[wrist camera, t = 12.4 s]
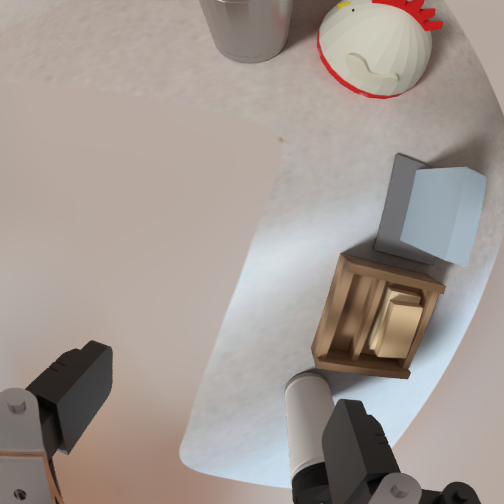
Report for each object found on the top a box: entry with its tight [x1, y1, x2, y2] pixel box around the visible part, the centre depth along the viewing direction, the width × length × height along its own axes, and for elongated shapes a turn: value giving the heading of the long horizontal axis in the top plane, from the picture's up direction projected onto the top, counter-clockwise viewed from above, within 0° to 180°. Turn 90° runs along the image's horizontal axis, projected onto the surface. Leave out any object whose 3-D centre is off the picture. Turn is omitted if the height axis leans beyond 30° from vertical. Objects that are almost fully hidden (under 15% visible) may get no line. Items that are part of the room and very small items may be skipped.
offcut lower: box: [367, 287, 421, 350], centre depth 37 cm, size 8×4×2 cm, turn 167°
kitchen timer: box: [317, 0, 443, 99], centre depth 24 cm, size 14×14×15 cm
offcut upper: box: [374, 300, 423, 358], centre depth 35 cm, size 7×4×2 cm, turn 171°
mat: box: [373, 154, 436, 265], centre depth 35 cm, size 12×9×1 cm
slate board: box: [400, 167, 487, 267], centre depth 30 cm, size 9×3×11 cm, turn 167°
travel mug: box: [285, 372, 335, 504], centre depth 31 cm, size 6×7×20 cm
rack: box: [311, 253, 446, 379], centre depth 36 cm, size 13×13×5 cm
